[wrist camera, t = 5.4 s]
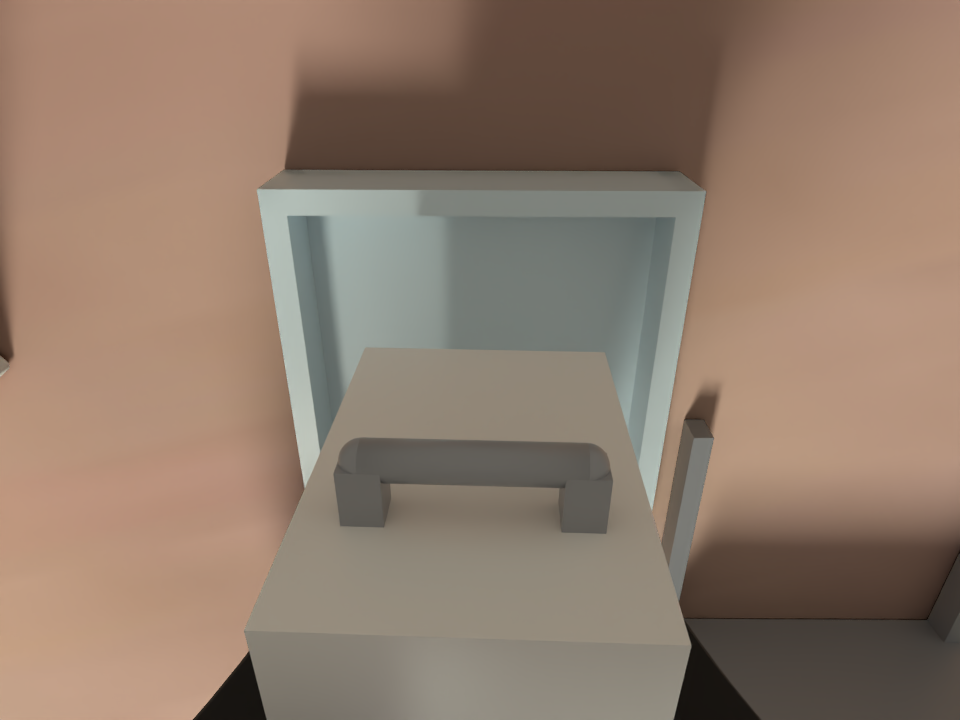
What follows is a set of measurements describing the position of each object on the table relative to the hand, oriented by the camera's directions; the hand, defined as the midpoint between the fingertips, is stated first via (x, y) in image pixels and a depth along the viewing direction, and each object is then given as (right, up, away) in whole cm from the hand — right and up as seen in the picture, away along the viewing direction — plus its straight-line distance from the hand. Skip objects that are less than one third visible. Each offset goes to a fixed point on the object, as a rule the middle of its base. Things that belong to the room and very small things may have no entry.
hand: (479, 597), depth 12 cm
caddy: (0, +1, +3) cm, 3 cm away
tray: (0, +4, +7) cm, 8 cm away
